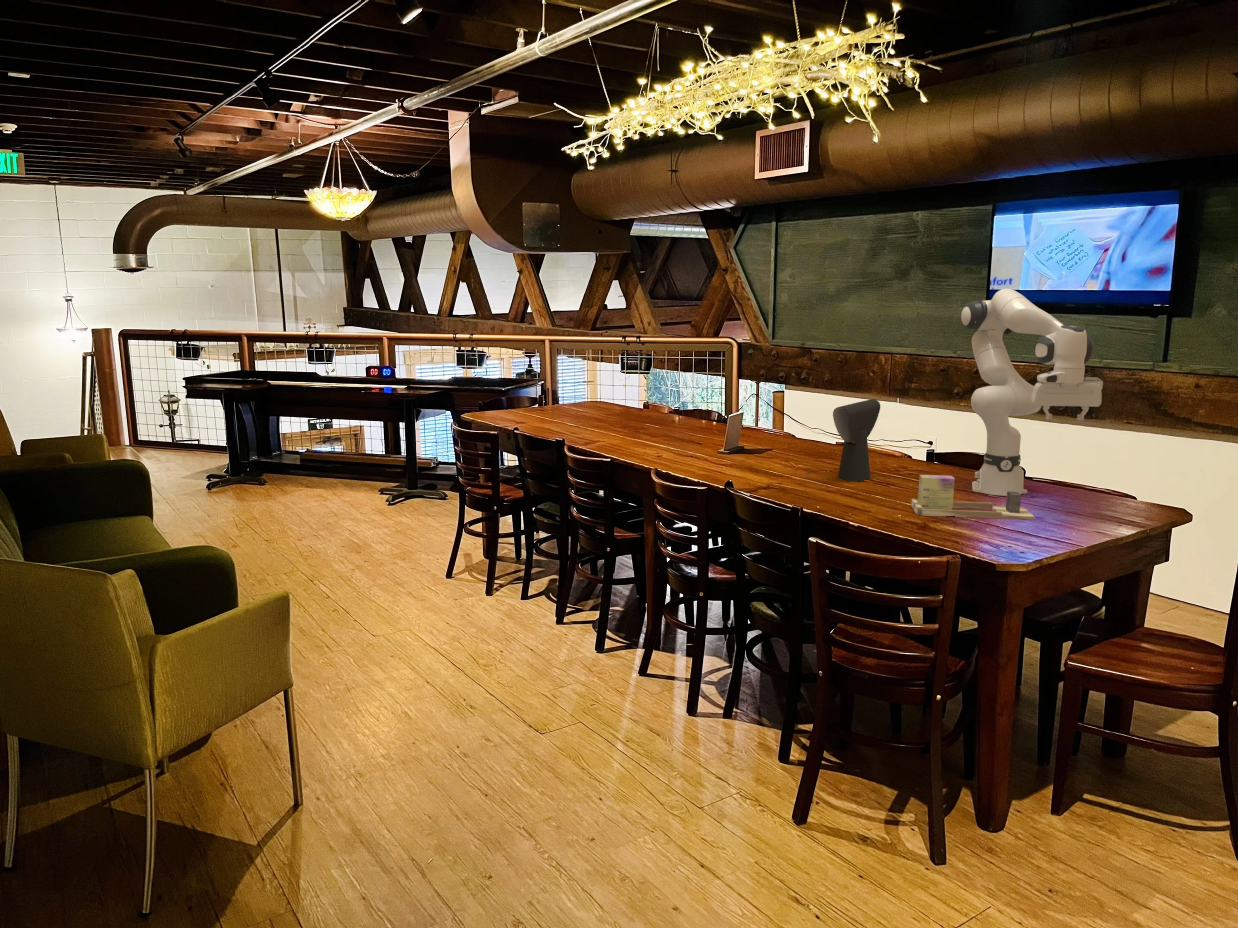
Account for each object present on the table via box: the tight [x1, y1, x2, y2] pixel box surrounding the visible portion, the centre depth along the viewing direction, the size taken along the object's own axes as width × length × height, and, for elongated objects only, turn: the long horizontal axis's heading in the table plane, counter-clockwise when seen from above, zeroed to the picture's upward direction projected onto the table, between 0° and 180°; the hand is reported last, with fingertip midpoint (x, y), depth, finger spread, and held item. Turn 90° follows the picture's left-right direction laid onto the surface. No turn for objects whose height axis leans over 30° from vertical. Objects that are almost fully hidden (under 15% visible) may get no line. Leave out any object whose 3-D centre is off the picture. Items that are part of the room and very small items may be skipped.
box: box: [917, 474, 956, 510], centre depth 295 cm, size 10×6×12 cm, turn 80°
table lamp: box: [805, 398, 881, 482], centre depth 342 cm, size 40×28×30 cm
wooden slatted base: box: [910, 491, 1036, 521], centre depth 293 cm, size 14×36×7 cm, turn 80°
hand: (1064, 420), depth 285 cm, fingers open, 8 cm apart
